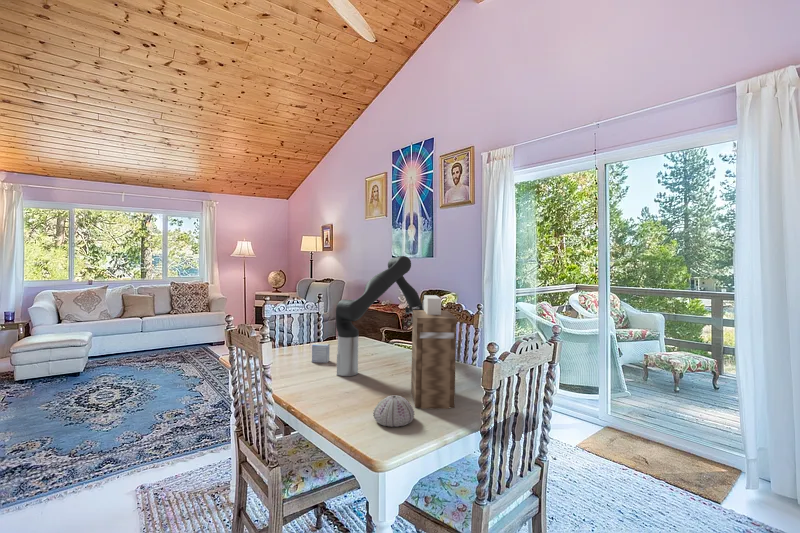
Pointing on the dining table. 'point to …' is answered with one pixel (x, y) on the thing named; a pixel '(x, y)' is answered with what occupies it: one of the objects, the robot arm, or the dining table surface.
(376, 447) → the dining table surface
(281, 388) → the dining table surface
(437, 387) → the shelf unit
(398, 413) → the sea urchin shell
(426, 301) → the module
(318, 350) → the medicine box
